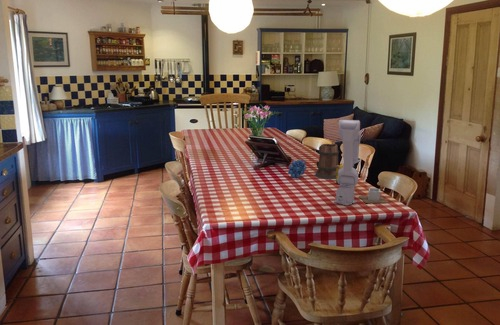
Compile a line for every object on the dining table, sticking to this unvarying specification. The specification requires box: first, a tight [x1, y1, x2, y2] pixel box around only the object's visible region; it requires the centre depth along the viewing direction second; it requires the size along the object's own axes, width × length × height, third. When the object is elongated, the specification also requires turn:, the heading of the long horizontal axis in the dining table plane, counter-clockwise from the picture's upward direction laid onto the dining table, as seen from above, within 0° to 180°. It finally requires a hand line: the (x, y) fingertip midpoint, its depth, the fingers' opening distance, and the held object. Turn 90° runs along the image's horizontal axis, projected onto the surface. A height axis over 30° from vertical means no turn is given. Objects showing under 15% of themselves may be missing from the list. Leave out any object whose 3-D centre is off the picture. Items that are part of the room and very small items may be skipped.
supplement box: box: [335, 164, 343, 184], centre depth 269 cm, size 6×6×11 cm
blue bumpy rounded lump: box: [287, 158, 308, 179], centre depth 282 cm, size 12×7×12 cm, turn 98°
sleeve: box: [367, 187, 381, 201], centre depth 238 cm, size 6×6×5 cm
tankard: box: [314, 143, 340, 180], centre depth 289 cm, size 24×17×20 cm
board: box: [358, 195, 390, 204], centre depth 239 cm, size 12×12×4 cm
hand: (351, 176), depth 250 cm, fingers open, 7 cm apart
